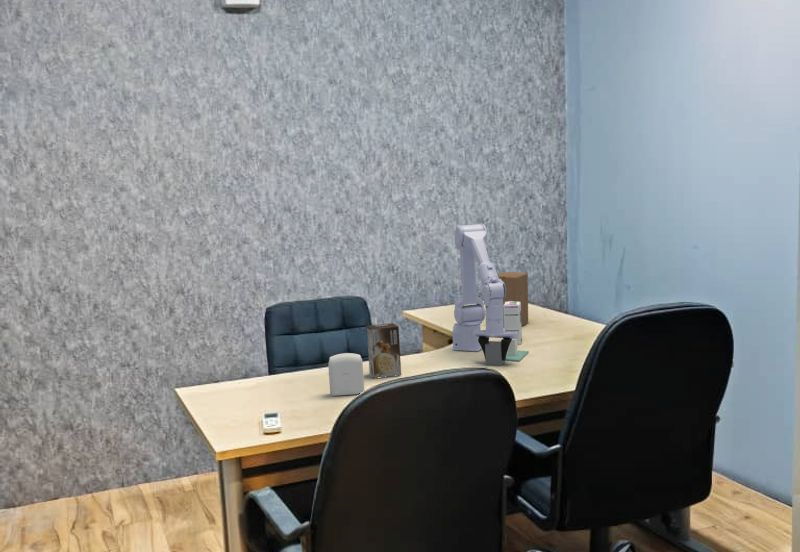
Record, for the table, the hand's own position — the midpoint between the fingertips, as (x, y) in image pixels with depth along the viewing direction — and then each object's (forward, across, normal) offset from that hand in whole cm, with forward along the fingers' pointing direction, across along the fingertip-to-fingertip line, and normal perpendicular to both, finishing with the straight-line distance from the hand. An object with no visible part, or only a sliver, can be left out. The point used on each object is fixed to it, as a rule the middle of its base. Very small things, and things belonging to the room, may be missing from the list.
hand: (495, 359), depth 308 cm
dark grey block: (+1, 0, 0) cm, 1 cm away
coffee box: (+2, -30, -22) cm, 37 cm away
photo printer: (+2, -33, -44) cm, 55 cm away
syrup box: (+2, -2, +29) cm, 29 cm away
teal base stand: (+1, +3, +10) cm, 11 cm away
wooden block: (+2, -10, +56) cm, 57 cm away
